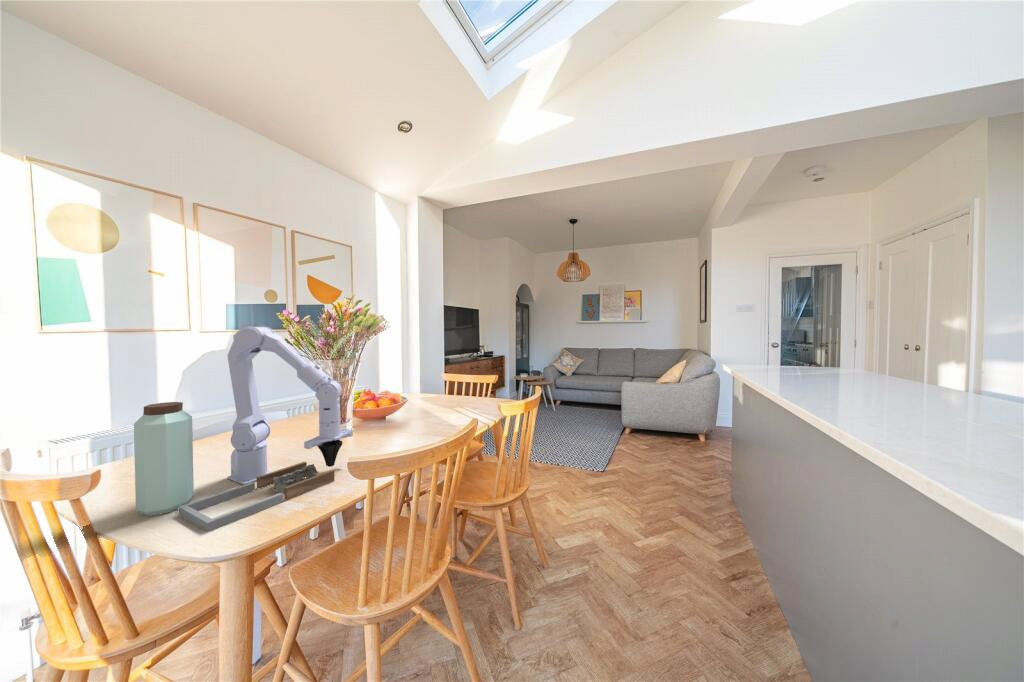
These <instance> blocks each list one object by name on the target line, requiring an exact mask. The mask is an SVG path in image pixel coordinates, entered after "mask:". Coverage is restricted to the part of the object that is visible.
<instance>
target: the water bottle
mask: <svg viewBox="0 0 1024 682" xmlns="http://www.w3.org/2000/svg"><path fill="white" fill-rule="evenodd" d="M183 404H184V403H183V401H182V402H181V401H168V402H167V401H166V402H158V403H157V402H156V403H150V404H147V405H145V406H143V414H142V415H141V417H139V419H137V420H136V421H135V422H134V423H133V438H134V439H133V442H134V444H133V446H134V481H135V483H134V488H135V493H134V494H135V510H136V511H137V512H139V513H140V514H142V515H146V516H148V515H149V517H150V515H152V516H156V515H155V514H158V515H161V514H160V513H164V514H167V513H166V512H169V513H171V512H173V511H172V510H174V511H176V510H179V509H178V508H179V506H182V505H185V504H188V503H190V501H189V500H191V499H192V498H193V497H194V495H195V494H194V491H195V490H194V489H195V488H194V486H195V485H194V448H193V447H194V445H193V442H194V440H193V415H190V414H189V413H188V412H186V411H184V409H183ZM175 509H176V510H175ZM170 511H171V512H170Z"/></svg>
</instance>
